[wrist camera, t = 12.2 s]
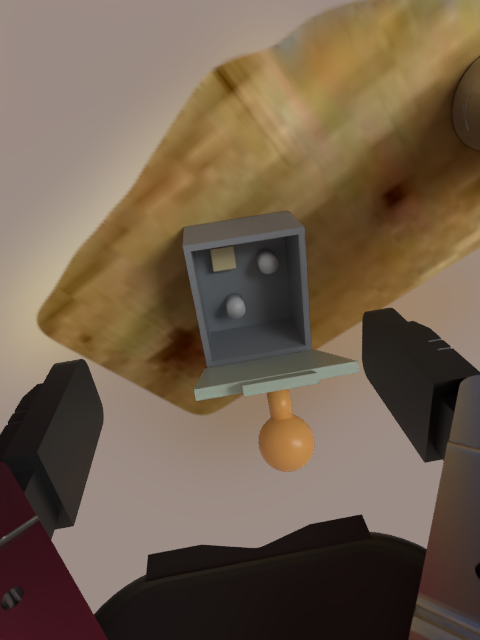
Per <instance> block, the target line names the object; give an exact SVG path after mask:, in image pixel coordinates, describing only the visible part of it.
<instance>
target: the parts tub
mask: <svg viewBox="0 0 480 640" xmlns="http://www.w3.org/2000/svg"><path fill="white" fill-rule="evenodd" d="M183 250H184V255H185V260H186V265H187V270H188V275H189V280H190V285H191V290H192V295H193V300H194V305H195V310H196V315H197V320H198V324H199V329H200V334H201V339H202V344H203V349H204V354H205V359H206V364H207V367H213V366H222V365H228V364H234V363H240V362H246V361H251V360H257V359H263V358H269V357H275V356H281V355H286V354H292V353H298V352H301V351H307V350H312V349H311V331H310V313H309V296H308V278H307V260H306V242H305V227H304V226H303V225H302V224H301V223H300V222H299V221H298V220H297V219H296V218H295V217H294V216H293V215H292V214H291V213H290V212H289V211H282V212H276V213H270V214H263V215H257V216H251V217H244V218H238V219H232V220H225V221H219V222H213V223H206V224H200V225H194V226H187V227H184V232H183Z"/></svg>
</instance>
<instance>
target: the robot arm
mask: <svg viewBox="0 0 480 640" xmlns="http://www.w3.org/2000/svg"><path fill="white" fill-rule="evenodd" d="M452 118H453V123H454V128H455V130H456V133H457V135H458V137H459V138H460V139H461V140H462V142H463V143H464V144H466V145H467V146H469V147H470V148H473V149H476V150H479V151H480V57H479V58H478V59H477V60H476V61H475V62H474V63H473V64H472V65H471V66H470V67H469V69H468V70H467V71H466V72H465V74H464V76H463V78H462V79H461V81H460V83H459V85H458V88H457V91H456V93H455V97H454V102H453V111H452ZM362 329H363V330H362V333H363V335H362V362H363V367H364V371H365V374H366V376H367V378H368V380H369V381H370V383H371V384H372V386H373V387H374V389H375V390H376V392H377V393H378V395H379V396H380V397H381V399H382V400H383V402H384V403H385V405H386V406H387V408H388V409H389V411H390V412H391V413H392V415H393V416H394V418H395V420H396V421H397V422H398V424H399V425H400V427H401V428H402V430H403V431H404V433H405V434H406V436H407V437H408V439H409V440H410V441H411V443H412V444H413V446H414V447H415V449H416V450H417V452H418V453H419V455H420V456H421V458H422V459H423V461H424V462H430V461H436V460H441V459H443V461H444V463H443V469H442V474H441V479H440V484H439V489H438V494H437V500H436V505H435V510H434V515H433V520H432V525H431V530H430V536H429V541H428V546H427V549H425V548H423V547H421V546H420V545H418V544H415V543H413V542H410V541H408V540H405V539H402V538H399V537H395V536H392V535H388V534H382V533H376V532H369V530H368V528H367V525H366V523H365V521H364V519H363V516H362V515H357V516H352V517H346V518H341V519H336V520H330V521H326V522H320V523H314V524H310V525H308V526H305V527H303V528H301V529H299V530H297V531H295V532H293V533H291V534H288V535H286V536H284V537H282V538H280V539H278V540H276V541H273V542H271V543H269V544H267V545H265V546H262V547H260V548H242V547H226V546H212V545H198V546H192V547H188V548H182V549H176V550H172V551H166V552H161V553H155V554H150V555H148V562H147V573H146V575H144V576H142V577H140V578H138V579H137V580H135V581H133V582H132V583H130V584H128V585H127V586H125V587H124V588H123V589H121V590H120V591H119V592H117V593H116V594H114V595H113V596H112V597H111V598H110V599H109V600H108V601H107V602H106V603H104V604H103V605H102V606H101V607H100V608H99V610H98V611H97V612H96V613H95V614H93V613H92V611H91V609H90V607H89V606H88V604H87V602H86V600H85V599H84V597H83V595H82V593H81V592H80V590H79V588H78V587H77V585H76V583H75V581H74V579H73V578H72V576H71V574H70V573H69V571H68V569H67V567H66V565H65V564H64V562H63V560H62V559H61V557H60V555H59V553H58V552H57V550H56V548H55V546H54V544H53V543H52V541H51V539H52V536H53V532H54V530H55V529H60V528H66V527H70V526H74V523H75V520H76V516H77V513H78V509H79V506H80V502H81V499H82V495H83V491H84V488H85V484H86V481H87V478H88V474H89V471H90V467H91V464H92V460H93V457H94V453H95V450H96V446H97V442H98V439H99V436H100V432H101V429H102V425H103V407H102V403H101V400H100V397H99V394H98V392H97V389H96V386H95V384H94V381H93V378H92V375H91V373H90V370H89V367H88V365H87V363H86V361H85V360H83V359H79V360H73V361H67V362H62V363H56V364H54V365H53V366H52V368H51V370H50V372H49V374H48V375H47V377H46V379H45V381H44V383H42V384H37V385H36V386H35V387H34V388H33V389H32V390H31V391H29V392H28V393H27V394H26V395H25V396H24V397H23V398H22V400H21V401H20V403H19V405H18V406H17V408H16V410H15V413H14V414H13V415H12V416H11V418H10V419H9V421H8V425H6V426H5V428H4V429H3V431H2V433H1V434H0V640H480V372H479V371H478V370H477V369H476V368H475V367H473V366H472V365H471V364H470V363H469V362H468V361H466V360H465V359H464V358H463V357H462V356H461V355H460V354H459V353H458V352H456V351H455V350H454V349H451V347H450V345H448V344H447V343H446V342H445V341H444V340H441V338H440V337H439V336H438V335H437V334H436V333H435V332H433V331H432V330H431V329H430V328H428V327H426V326H424V325H421V324H419V323H417V322H414V321H410V322H407V321H406V320H405V319H404V318H403V317H402V316H401V315H400V314H399V313H398V312H397V311H396V310H395V309H393V308H385V309H379V310H373V311H367V312H365V313H364V315H363V326H362Z"/></svg>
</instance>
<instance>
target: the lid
mask: <svg viewBox="0 0 480 640" xmlns="http://www.w3.org/2000/svg"><path fill="white" fill-rule="evenodd" d="M358 372H359V366H358V361H355V360H352V359H348V358H344V357H340V356H337V355H333V354H329V353H325V352H321V351H318V350H310V351H304V352H298V353H292V354H286V355H281V356H275V357H269V358H263V359H257V360H251V361H246V362H240V363H234V364H228V365H222V366H216V367H211V368H205V369H204V370H203V372H202V374H201V376H200V378H199V380H198V383H197V385H196V387H195V389H194V392H195V398H196V401H199V400H204V399H210V398H216V397H222V396H227V395H233V394H239V393H243V394H244V397H245V396H250V395H256V394H262V393H267V397H268V403H269V408H270V414H271V418H270V419H269V420H268V421H267V422H266V423H265V424H264V425H263V427H262V429H261V431H260V435H259V449H260V452H261V455H262V457H263V458H264V460H265V461H266V462H267V463H268V464H269V465H270V466H271V467H273V468H275V469H277V470H280V471H284V472H291V471H295V470H298V469H300V468H302V467H303V466H305V465H306V463H307V462H308V461H309V460H310V458H311V457H312V454H313V451H314V445H315V444H314V436H313V433H312V431H311V429H310V427H309V425H308V424H307V423H306V422H305V421H304V420H303V419H301V418H300V417H298V416H296V415H293V412H292V406H291V400H290V394H289V389H290V388H296V387H302V386H307V385H313V384H319V379H325V378H330V377H336V376H342V375H348V374H353V373H358Z"/></svg>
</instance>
